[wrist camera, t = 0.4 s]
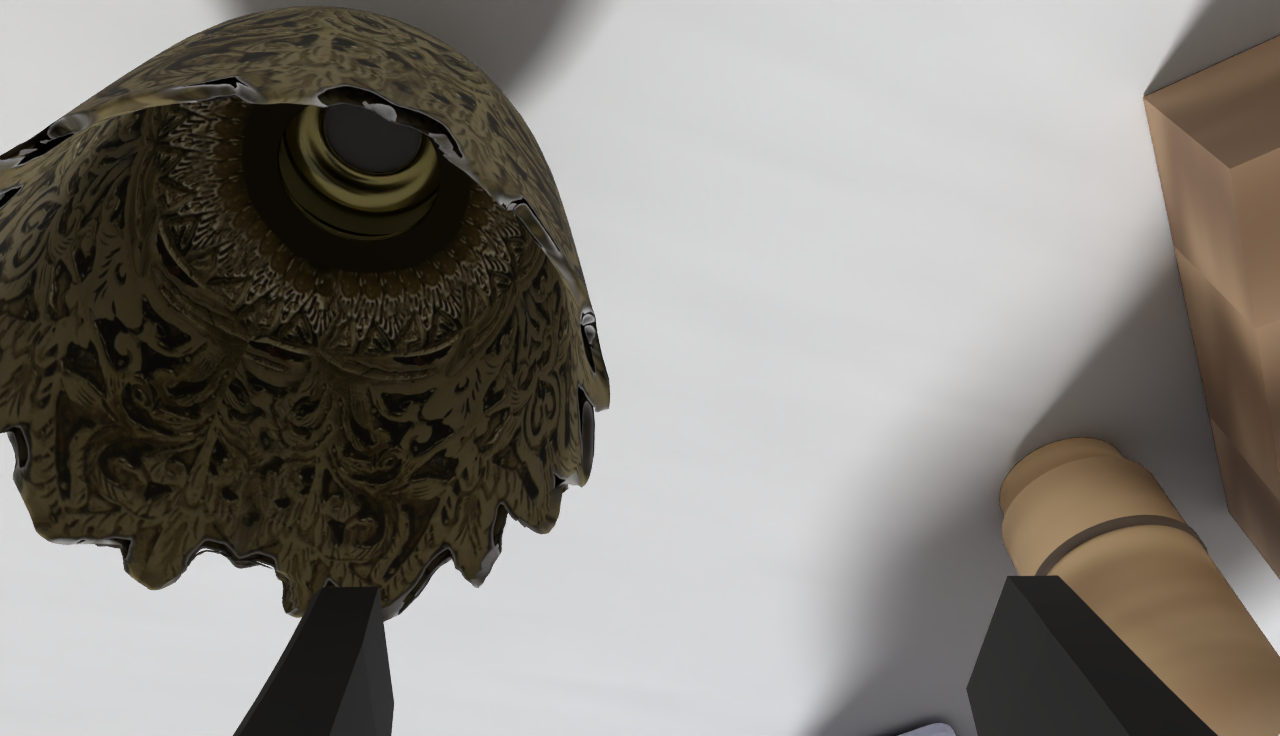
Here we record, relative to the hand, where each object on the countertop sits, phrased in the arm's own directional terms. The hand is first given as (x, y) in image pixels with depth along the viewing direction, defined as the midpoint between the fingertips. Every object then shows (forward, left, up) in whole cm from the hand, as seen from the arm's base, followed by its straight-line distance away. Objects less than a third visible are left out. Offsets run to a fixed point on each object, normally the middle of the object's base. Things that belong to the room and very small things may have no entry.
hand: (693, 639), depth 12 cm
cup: (+4, +3, -10) cm, 11 cm away
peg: (-11, -6, -10) cm, 16 cm away
